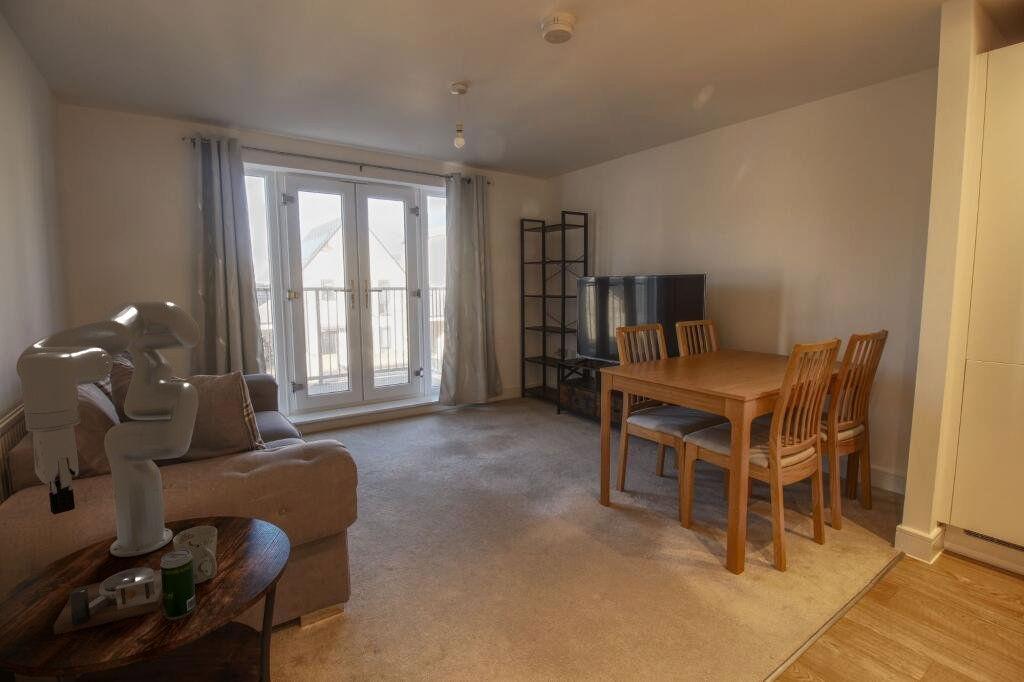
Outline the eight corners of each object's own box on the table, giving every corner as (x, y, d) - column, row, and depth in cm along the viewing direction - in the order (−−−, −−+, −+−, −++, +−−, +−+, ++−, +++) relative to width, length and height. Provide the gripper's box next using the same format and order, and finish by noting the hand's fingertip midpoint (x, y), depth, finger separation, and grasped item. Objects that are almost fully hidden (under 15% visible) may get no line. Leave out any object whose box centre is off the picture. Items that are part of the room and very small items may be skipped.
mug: (207, 562, 116) (204, 522, 115) (238, 578, 110) (235, 536, 109) (168, 580, 109) (165, 538, 108) (199, 598, 103) (196, 554, 102)
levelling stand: (76, 596, 103) (74, 567, 102) (168, 576, 111) (166, 549, 110) (53, 637, 91) (49, 605, 90) (157, 612, 98) (155, 582, 98)
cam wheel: (129, 575, 107) (127, 549, 106) (165, 580, 106) (163, 553, 105) (54, 623, 92) (51, 593, 91) (95, 628, 91) (92, 598, 90)
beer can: (201, 602, 102) (197, 547, 100) (187, 620, 96) (183, 562, 95) (174, 603, 101) (170, 549, 100) (158, 621, 96) (153, 564, 94)
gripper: (18, 415, 94) (28, 506, 96) (33, 430, 85) (44, 530, 87) (70, 407, 100) (78, 493, 102) (89, 421, 91) (98, 515, 93)
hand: (63, 510), depth 94 cm, fingers closed
